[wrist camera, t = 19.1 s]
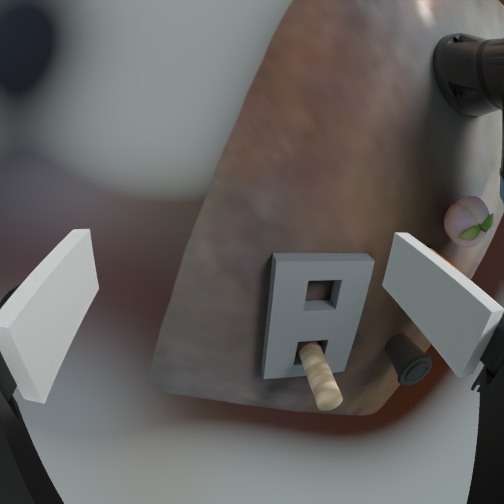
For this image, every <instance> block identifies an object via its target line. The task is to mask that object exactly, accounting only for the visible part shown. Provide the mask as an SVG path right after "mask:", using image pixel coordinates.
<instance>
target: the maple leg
mask: <svg viewBox="0 0 504 504" xmlns="http://www.w3.org/2000/svg"><path fill="white" fill-rule="evenodd" d="M297 350H298V353H299V357H300V359H301V361H302V364H303V367H304V370H305V373H306V375H307V378H308V381H309V384H310V387H311V389H312V392H313V395H314V398H315V401H316V404H317V407H318V409H320V410H322V411H328V410H332V409H334V408H336V407H338V406H339V405H340V404H341V403H342V400H343V398H342V395H341V393H340V391H339V388H338V386H337V384H336V381H335V379H334V377H333V375H332V372H331V370H330V368H329V365H328V363H327V361H326V359H325V356H324V354H323V352H322V348H321V346H320V345H319V343H318V341H305V342H298V344H297Z"/></svg>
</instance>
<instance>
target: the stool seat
mask: <svg viewBox="0 0 504 504" xmlns="http://www.w3.org/2000/svg"><path fill="white" fill-rule="evenodd" d="M374 263H375V261H374V260H373V259H372V258H371V257H370V256H369V255H368V254H367V253H273V256H272V267H271V277H270V288H269V298H268V308H267V318H266V328H265V337H264V347H263V356H262V365H261V369H262V374H263V379H273V378H287V377H298V376H307V375H306V373H305V370H304V367H303V364H302V361H301V359H300V357H299V354H296V349H297V344H298V342H305V341H318V340H321V342H320V346H321V348H322V352H323V354H324V356H325V359H326V361H327V363H328V365H329V368H330V370H331V372H332V373H335V372H343V371H344V370H345V367H346V364H347V361H348V358H349V355H350V351H351V348H352V345H353V342H354V338H355V335H356V332H357V328H358V325H359V321H360V318H361V314H362V311H363V307H364V303H365V300H366V296H367V292H368V288H369V284H370V280H371V276H372V272H373V267H374ZM315 280H334V282H333V287H332V292H331V297H330V300H317V301H305V298H306V292H307V286H308V281H315Z"/></svg>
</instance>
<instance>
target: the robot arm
mask: <svg viewBox="0 0 504 504" xmlns="http://www.w3.org/2000/svg"><path fill="white" fill-rule="evenodd" d="M434 68H435V75H436V79H437V82H438V85H439V87H440V90H441V92H442V94H443V95H444V97H445V99H446V100H447V101H448V103H449V104H450V105H451V106H452V107H453V108H454V109H455V110H457V111H458V112H460V113H462V114H465V115H471V116H482V115H485V114H488V113H491V112H494V111H497V110H502V159H501V168H500V197H501V199H502V201H503V203H504V39H492V40H485V39H482V38H479V37H475V36H472V35H468V34H463V33H457V34H451V35H448V36H445V37H444V38H443V39H442V40H441V41H440V42H439V44H438V45H437V48H436V51H435V56H434ZM382 286H383V287H384V288H385V289H386V291H387V292H388V293H389V294H390V295H391V296H392V297H393V299H394V300H395V301H396V302H397V303H398V304H399V305H400V307H401V308H402V309H403V310H404V311H405V312H406V314H407V315H408V316H409V317H410V318H411V319H412V321H413V322H414V323H415V324H416V325H417V327H418V328H419V329H420V330H421V331H422V333H423V334H424V335H425V336H426V337H427V339H428V340H429V341H430V342H431V344H432V345H433V346H434V347H435V348H436V350H437V351H438V352H439V353H440V355H441V356H442V357H443V358H444V359H445V361H446V362H447V364H448V365H449V366H450V367H451V369H452V370H453V371H454V373H455V374H456V375H457V376H458V378H461V377H464V376H467V375H470V374H473V372H474V370H475V368H476V367H477V365H478V363H479V361H482V363H483V364H484V367H483V369H482V370H481V372H480V374H479V376H478V377H477V379H476V381H475V382H474V384H473V385H472V388H471V390H474V389H475V387H476V386H477V385H480V387H479V388H478V390H477V392H480V407H479V424H478V436H477V445H476V454H475V462H474V468H473V474H472V480H471V486H470V491H469V496H468V500H467V504H504V308H502V307H501V306H500V305H499V304H498V303H497V302H496V301H494V300H493V299H492V298H491V297H490V296H489V295H487V294H486V293H485V292H484V291H483V290H481V289H480V288H479V287H478V286H477V285H475V284H474V283H473V282H472V281H471V280H469V279H468V278H467V277H466V276H464V275H463V274H462V273H461V272H459V271H458V270H457V269H456V268H454V267H453V266H452V265H450V264H449V263H448V262H447V261H445V260H444V259H443V258H441V257H440V256H439V255H437V254H436V253H435V252H433V251H432V250H431V249H429V248H428V247H427V246H425V245H424V244H423V243H421V242H420V241H418V240H417V239H416V238H414V237H413V236H411V235H410V234H409V233H398V232H395V234H394V238H393V243H392V247H391V252H390V256H389V260H388V264H387V268H386V272H385V276H384V280H383V284H382ZM98 289H99V286H98V281H97V275H96V269H95V263H94V256H93V250H92V243H91V235H90V229H74V230H72V232H71V233H69V234H68V235H67V236H66V237H65V238H64V239H63V240H62V241H61V242H60V243H59V244H58V245H57V247H55V248H54V249H53V250H52V252H51V253H50V254H49V255H48V256H47V257H46V258H45V259H44V260H43V261H42V262H41V263H40V264H39V265H38V266H37V267H36V269H35V270H34V271H33V272H32V273H31V274H30V275H29V276H28V277H27V278H26V280H25V281H24V282H23V283H22V284H21V285H18V286H17V287H15V288H14V289H12V290H11V291H9V292H8V294H6V295H5V297H4V298H3V299H2V300H1V302H0V504H64V503H63V501H62V499H61V497H60V496H59V494H58V493H57V490H56V489H55V487H54V485H53V483H52V481H51V479H50V478H49V476H48V474H47V472H46V470H45V468H44V466H43V464H42V462H41V460H40V458H39V456H38V453H37V451H36V449H35V447H34V445H33V442H32V440H31V438H30V435H29V433H28V431H27V428H26V426H25V423H24V421H23V418H22V415H21V413H20V410H19V407H18V404H17V402H16V401H15V399H14V397H13V393H14V390H15V389H16V387H18V389H19V391H20V393H21V394H22V396H23V398H24V399H25V400H29V401H34V402H38V403H43V404H44V403H45V402H46V399H47V397H48V394H49V392H50V389H51V387H52V384H53V382H54V380H55V377H56V375H57V373H58V371H59V368H60V366H61V364H62V361H63V359H64V357H65V355H66V353H67V350H68V348H69V346H70V344H71V342H72V340H73V338H74V336H75V334H76V332H77V330H78V328H79V326H80V324H81V322H82V320H83V318H84V316H85V314H86V312H87V310H88V308H89V306H90V304H91V302H92V300H93V299H94V296H95V295H96V293H97V291H98Z"/></svg>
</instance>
